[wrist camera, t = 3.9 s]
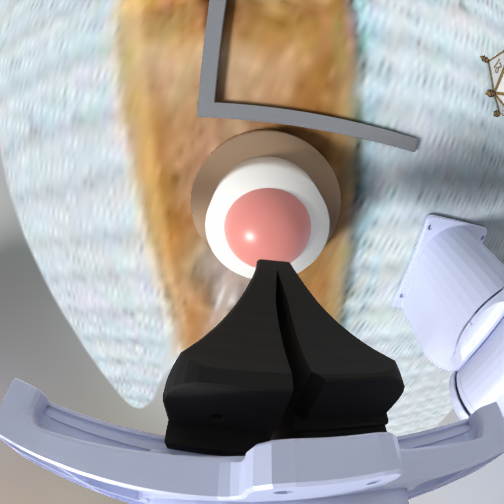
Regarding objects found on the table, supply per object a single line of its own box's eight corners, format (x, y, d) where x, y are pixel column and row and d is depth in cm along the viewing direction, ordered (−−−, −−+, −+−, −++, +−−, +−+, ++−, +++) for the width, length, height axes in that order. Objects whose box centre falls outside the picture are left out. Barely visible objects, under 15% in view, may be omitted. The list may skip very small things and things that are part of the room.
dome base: (319, 266, 23) (323, 277, 22) (194, 253, 23) (190, 264, 21) (348, 141, 18) (354, 145, 17) (198, 123, 17) (193, 125, 16)
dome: (308, 259, 21) (320, 305, 16) (210, 249, 20) (198, 294, 16) (328, 164, 17) (352, 190, 13) (216, 151, 17) (200, 172, 13)
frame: (411, 150, 18) (415, 152, 17) (199, 116, 17) (197, 116, 17) (428, -38, 9) (431, -40, 8) (227, -85, 8) (226, -88, 8)
